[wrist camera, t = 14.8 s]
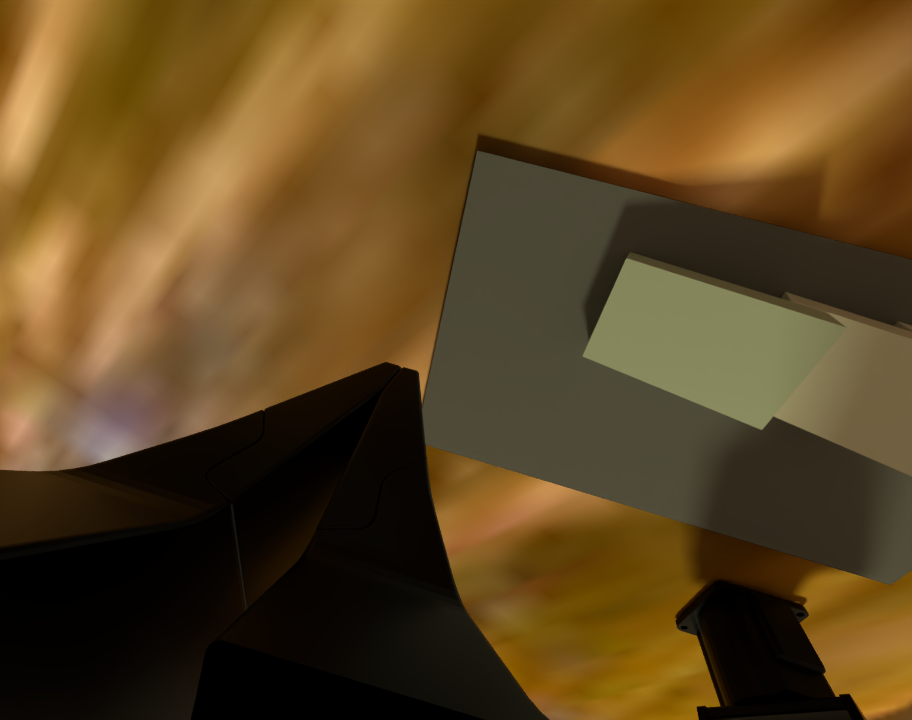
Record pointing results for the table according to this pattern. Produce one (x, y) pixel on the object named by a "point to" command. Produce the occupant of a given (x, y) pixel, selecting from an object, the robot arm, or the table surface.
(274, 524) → the robot arm
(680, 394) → the domino
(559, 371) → the mat
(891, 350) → the domino
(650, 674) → the table surface
